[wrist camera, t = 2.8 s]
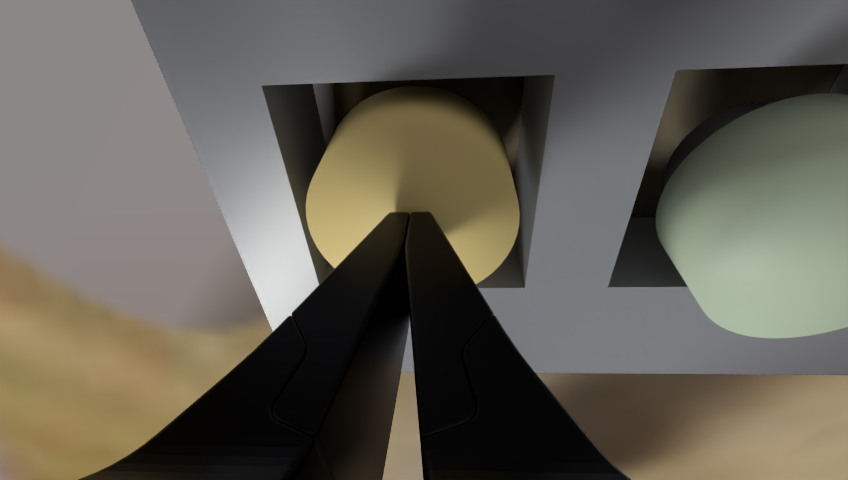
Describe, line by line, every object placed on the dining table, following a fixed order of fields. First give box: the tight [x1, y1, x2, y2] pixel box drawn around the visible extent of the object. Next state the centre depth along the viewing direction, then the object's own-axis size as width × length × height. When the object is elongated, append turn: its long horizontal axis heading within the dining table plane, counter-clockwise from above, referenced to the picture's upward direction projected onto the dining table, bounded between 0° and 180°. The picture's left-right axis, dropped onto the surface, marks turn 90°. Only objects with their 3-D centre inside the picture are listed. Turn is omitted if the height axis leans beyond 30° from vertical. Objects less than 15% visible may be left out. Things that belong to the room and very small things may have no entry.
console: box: [131, 0, 848, 375], centre depth 10 cm, size 13×24×3 cm, turn 93°
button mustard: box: [306, 86, 520, 284], centre depth 10 cm, size 4×4×3 cm
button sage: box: [656, 93, 848, 338], centre depth 9 cm, size 4×4×3 cm
